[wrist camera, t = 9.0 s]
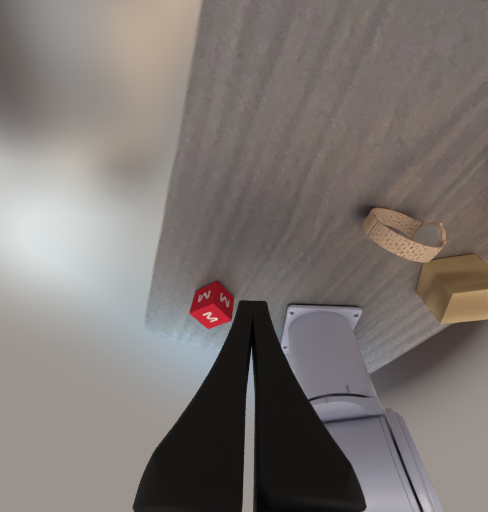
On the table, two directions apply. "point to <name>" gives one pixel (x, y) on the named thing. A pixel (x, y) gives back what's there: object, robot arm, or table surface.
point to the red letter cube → (212, 305)
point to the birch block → (455, 288)
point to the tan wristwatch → (424, 237)
